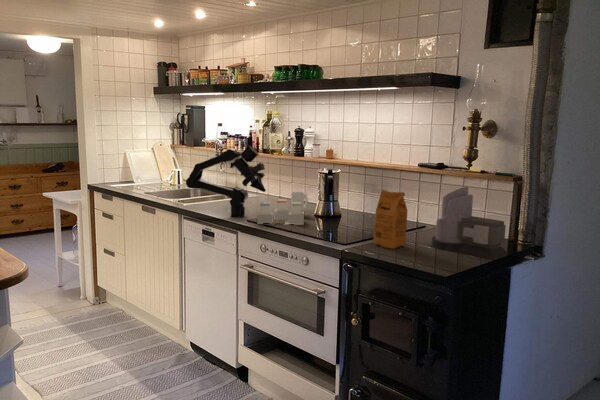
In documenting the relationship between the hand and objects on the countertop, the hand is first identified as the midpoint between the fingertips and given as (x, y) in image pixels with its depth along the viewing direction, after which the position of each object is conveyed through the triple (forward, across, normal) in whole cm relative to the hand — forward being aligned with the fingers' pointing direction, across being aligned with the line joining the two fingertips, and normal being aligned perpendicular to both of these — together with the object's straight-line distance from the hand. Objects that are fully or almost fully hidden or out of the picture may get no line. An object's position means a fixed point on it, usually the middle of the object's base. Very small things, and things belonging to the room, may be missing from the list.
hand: (264, 191), depth 259 cm
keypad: (+17, -5, +2) cm, 18 cm away
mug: (+20, +15, 0) cm, 25 cm away
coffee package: (+57, -40, -37) cm, 79 cm away
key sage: (+20, -6, -6) cm, 22 cm away
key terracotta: (+13, 0, +1) cm, 14 cm away
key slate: (+10, -12, +4) cm, 16 cm away
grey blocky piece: (+77, -37, -58) cm, 103 cm away
